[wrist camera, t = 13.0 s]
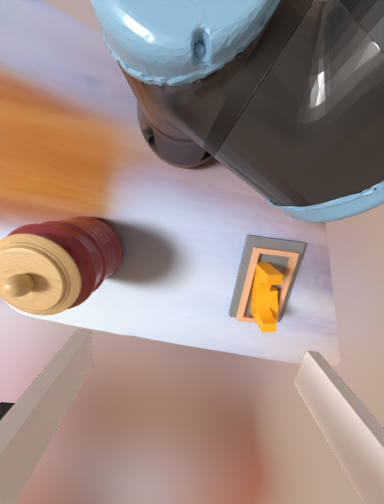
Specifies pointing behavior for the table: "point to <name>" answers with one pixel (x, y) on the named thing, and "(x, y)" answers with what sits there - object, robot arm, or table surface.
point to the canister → (57, 263)
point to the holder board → (276, 254)
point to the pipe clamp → (265, 296)
